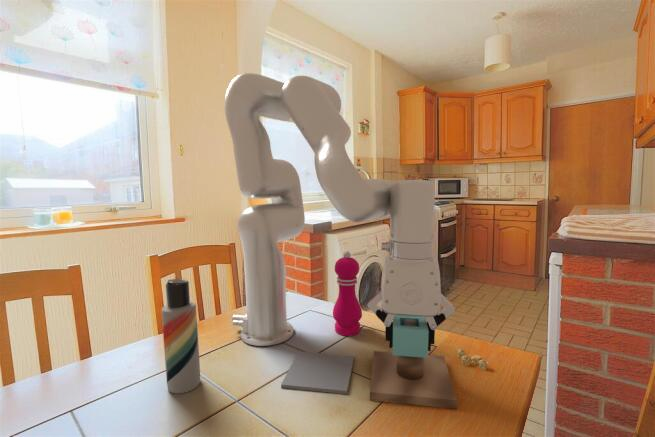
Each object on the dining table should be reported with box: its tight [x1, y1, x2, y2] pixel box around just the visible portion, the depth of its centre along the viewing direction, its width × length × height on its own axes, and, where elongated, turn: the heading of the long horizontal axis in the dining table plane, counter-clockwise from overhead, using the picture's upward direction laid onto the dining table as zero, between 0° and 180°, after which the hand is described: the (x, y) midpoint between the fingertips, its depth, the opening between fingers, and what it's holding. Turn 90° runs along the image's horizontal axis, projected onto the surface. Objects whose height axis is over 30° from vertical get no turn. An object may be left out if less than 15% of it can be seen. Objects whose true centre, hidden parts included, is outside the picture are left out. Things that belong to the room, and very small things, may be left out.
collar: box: [392, 315, 429, 358], centre depth 62 cm, size 6×6×5 cm
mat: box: [280, 351, 355, 395], centre depth 66 cm, size 12×12×1 cm
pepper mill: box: [332, 250, 363, 337], centre depth 83 cm, size 7×7×20 cm
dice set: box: [457, 348, 488, 371], centre depth 69 cm, size 5×5×2 cm
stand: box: [369, 319, 458, 410], centre depth 63 cm, size 14×14×11 cm
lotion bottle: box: [161, 278, 201, 395], centre depth 62 cm, size 6×6×20 cm
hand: (409, 345), depth 63 cm, fingers closed on collar, 5 cm apart
